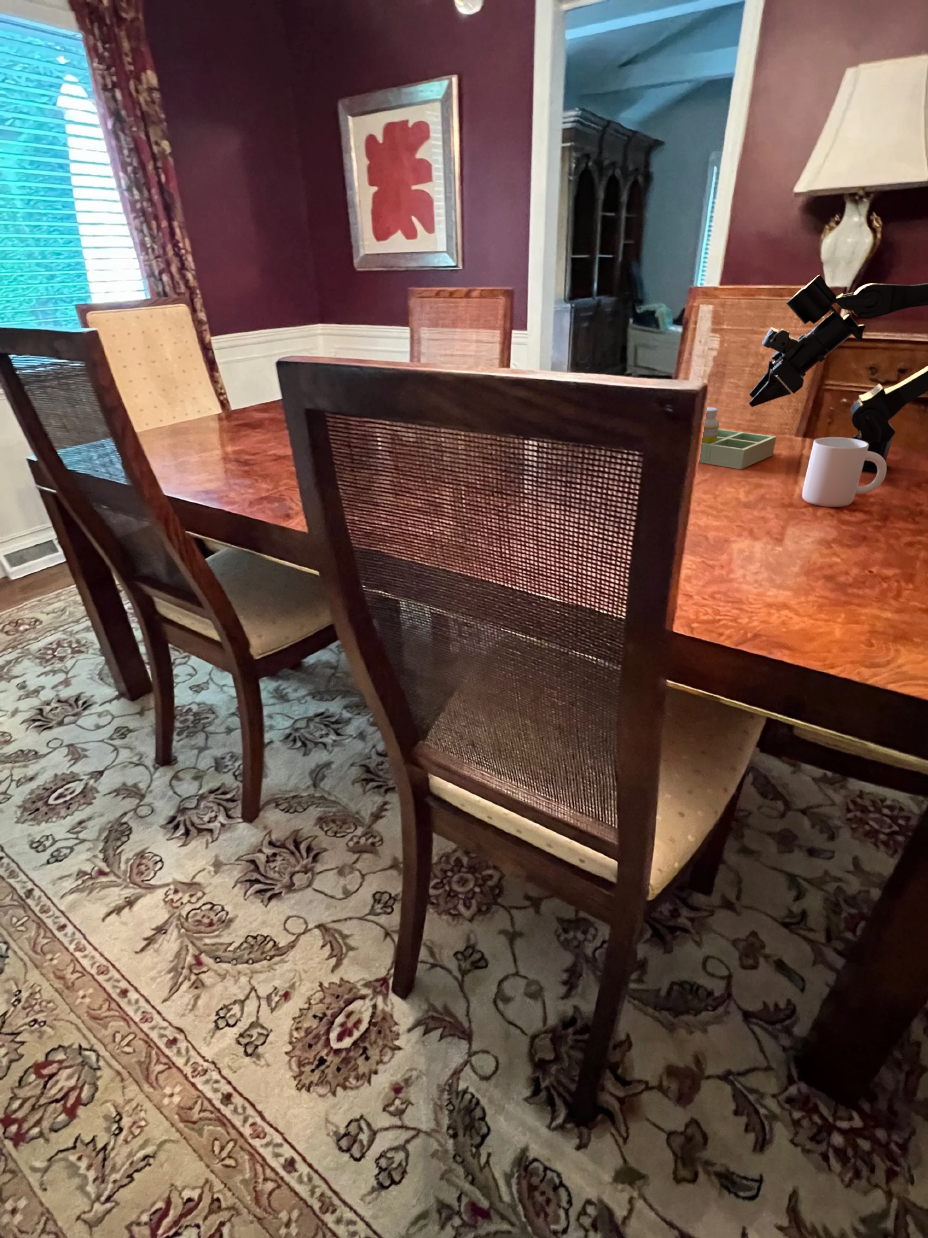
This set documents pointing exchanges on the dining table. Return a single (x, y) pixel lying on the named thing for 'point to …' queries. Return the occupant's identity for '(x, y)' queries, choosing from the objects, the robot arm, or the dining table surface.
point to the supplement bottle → (710, 426)
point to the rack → (737, 449)
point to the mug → (839, 471)
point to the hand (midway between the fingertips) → (750, 400)
